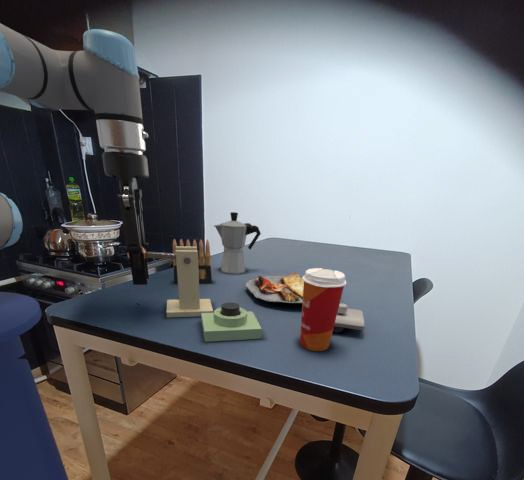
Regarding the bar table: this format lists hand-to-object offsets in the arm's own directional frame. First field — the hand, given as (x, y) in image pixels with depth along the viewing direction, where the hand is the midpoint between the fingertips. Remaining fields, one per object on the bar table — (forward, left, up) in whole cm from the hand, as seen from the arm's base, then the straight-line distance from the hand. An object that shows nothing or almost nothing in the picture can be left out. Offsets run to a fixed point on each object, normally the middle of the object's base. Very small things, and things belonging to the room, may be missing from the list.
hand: (141, 280), depth 68 cm
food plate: (+32, +20, -7) cm, 39 cm away
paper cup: (+37, -9, -7) cm, 39 cm away
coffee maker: (+14, +41, -7) cm, 44 cm away
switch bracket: (+9, +3, -7) cm, 12 cm away
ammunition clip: (+4, +24, -7) cm, 25 cm away
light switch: (+43, +1, -7) cm, 44 cm away
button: (+20, -6, -3) cm, 21 cm away
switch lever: (+4, +1, +4) cm, 6 cm away
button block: (+20, -6, -7) cm, 22 cm away
